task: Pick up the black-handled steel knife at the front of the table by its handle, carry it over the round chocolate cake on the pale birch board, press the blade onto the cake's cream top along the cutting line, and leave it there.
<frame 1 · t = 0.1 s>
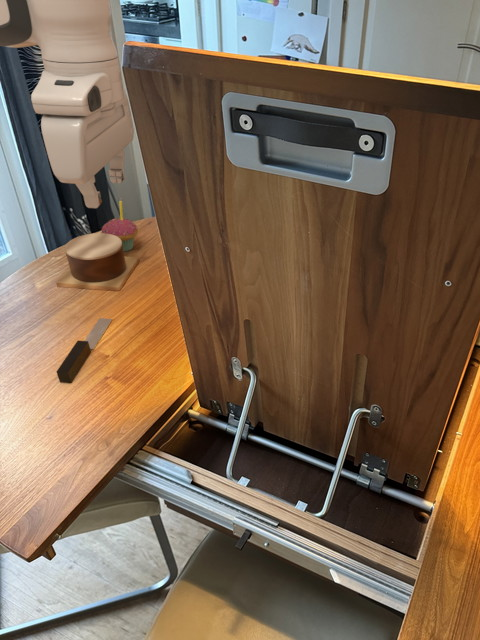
hand: (106, 193, 73), 31 cm above the table, tool pointing down, fingers open, 8 cm apart
cake: (99, 273, 118), on the table
knife: (86, 349, 96), on the table
cupcake: (123, 248, 128), on the table
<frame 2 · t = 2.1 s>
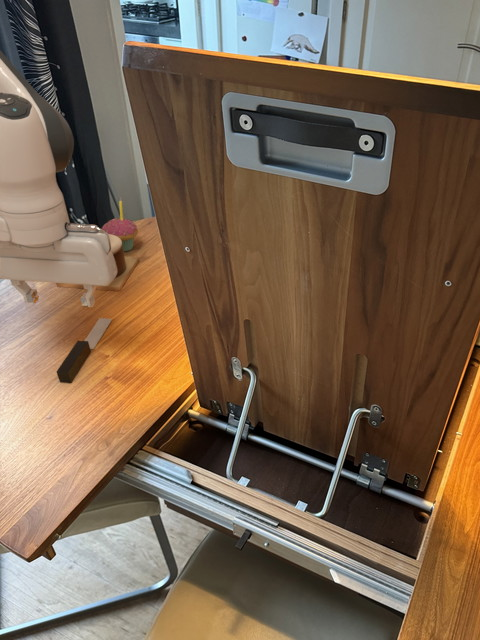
hand: (60, 303, 84), 13 cm above the table, tool pointing down, fingers open, 8 cm apart
nothing on the table moved.
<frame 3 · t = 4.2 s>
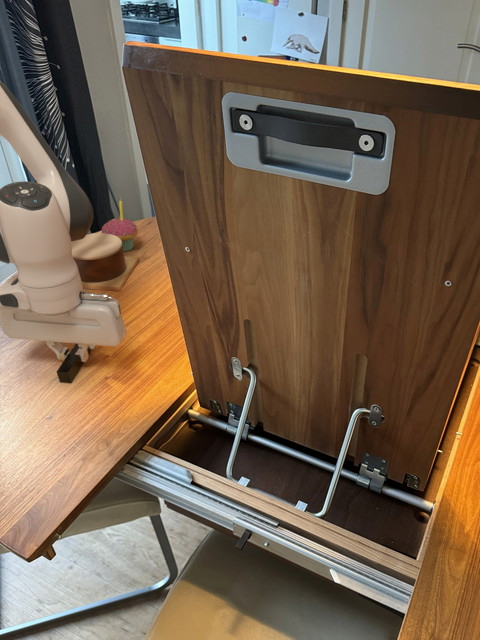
hand: (73, 358, 91), 2 cm above the table, tool pointing down, fingers closed on knife, 2 cm apart
knife: (86, 349, 96), on the table, touching gripper
everything else where it was.
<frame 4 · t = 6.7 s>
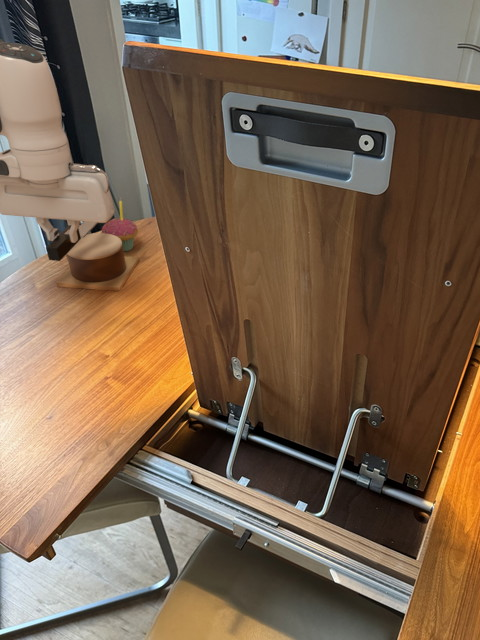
hand: (63, 240, 93), 17 cm above the table, tool pointing down, fingers closed on knife
knife: (77, 237, 98), point 15 cm above the table, touching gripper
everything else where it was.
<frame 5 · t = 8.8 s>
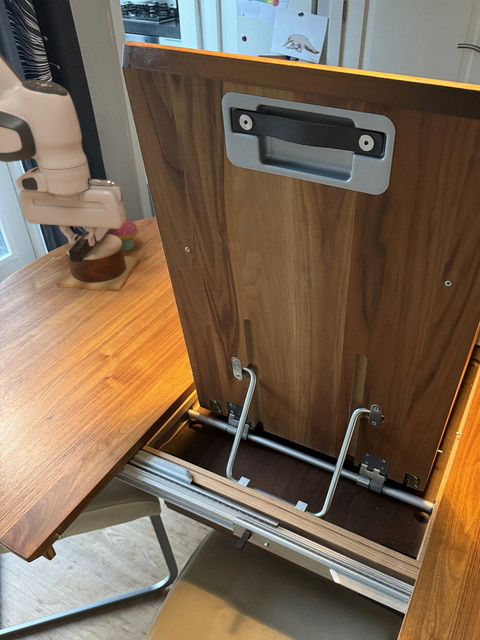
hand: (82, 244, 108), 9 cm above the table, tool pointing down, fingers closed on knife, 2 cm apart
knife: (93, 241, 113), point 8 cm above the table, touching gripper
everything else where it was.
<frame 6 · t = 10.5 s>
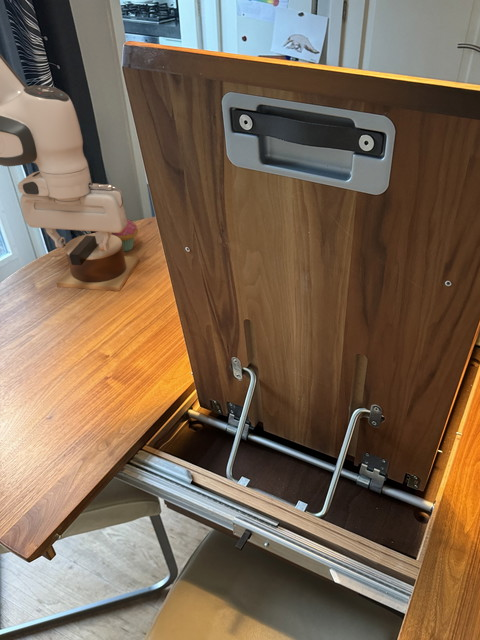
hand: (83, 248, 108), 9 cm above the table, tool pointing down, fingers open, 8 cm apart
knife: (93, 244, 113), point 7 cm above the table, touching cake
everything else where it was.
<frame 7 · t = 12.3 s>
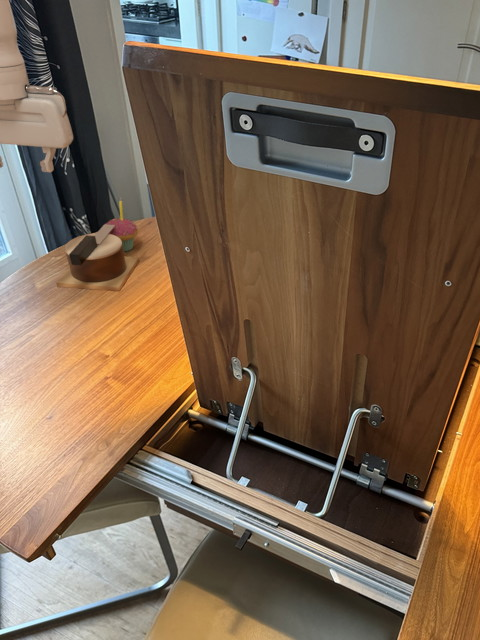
hand: (22, 169, 94), 26 cm above the table, tool pointing down, fingers open, 8 cm apart
nothing on the table moved.
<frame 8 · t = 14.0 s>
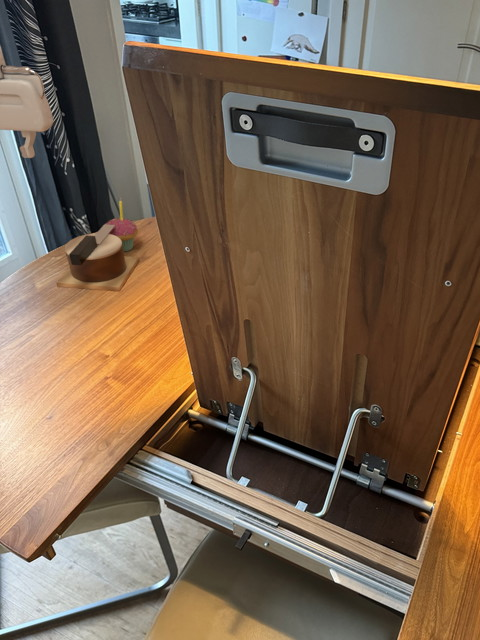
hand: (3, 155, 90), 29 cm above the table, tool pointing down, fingers open, 8 cm apart
nothing on the table moved.
at the end: knife inside the target area on the cake (0.0 cm from its centre), point 7.0 cm above the cake's base; knife touching cake; the gripper is holding nothing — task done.
